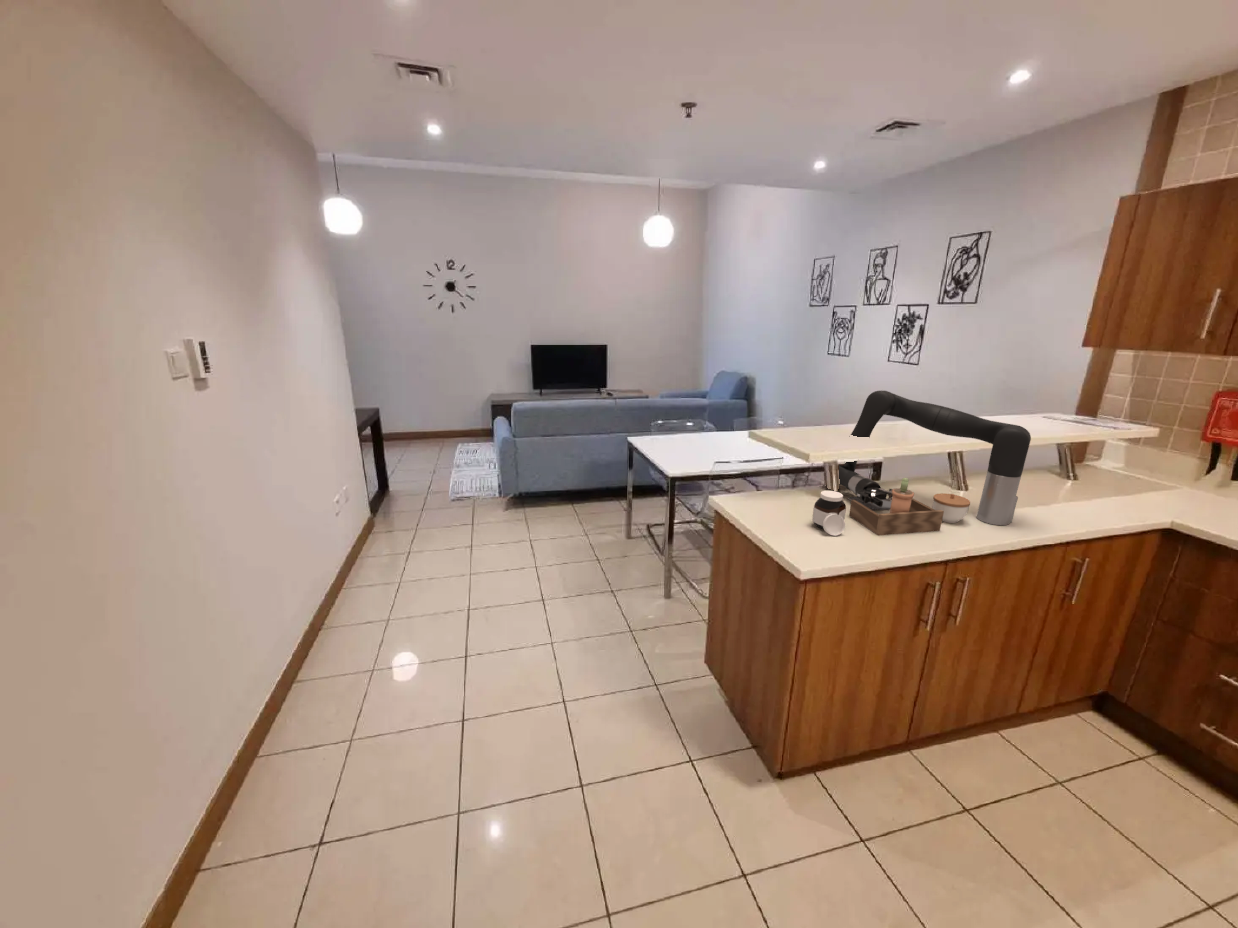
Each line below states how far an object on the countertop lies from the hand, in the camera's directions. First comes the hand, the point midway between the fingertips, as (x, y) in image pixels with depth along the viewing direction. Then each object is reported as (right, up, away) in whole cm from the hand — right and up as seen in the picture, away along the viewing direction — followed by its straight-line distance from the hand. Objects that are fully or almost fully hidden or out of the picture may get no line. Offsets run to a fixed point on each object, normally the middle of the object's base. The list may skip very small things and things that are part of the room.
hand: (893, 503), depth 170 cm
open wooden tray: (0, -7, +1) cm, 7 cm away
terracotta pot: (+1, -7, -1) cm, 8 cm away
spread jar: (-23, -8, -4) cm, 25 cm away
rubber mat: (+2, -1, +17) cm, 18 cm away
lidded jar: (+21, -6, +4) cm, 22 cm away
